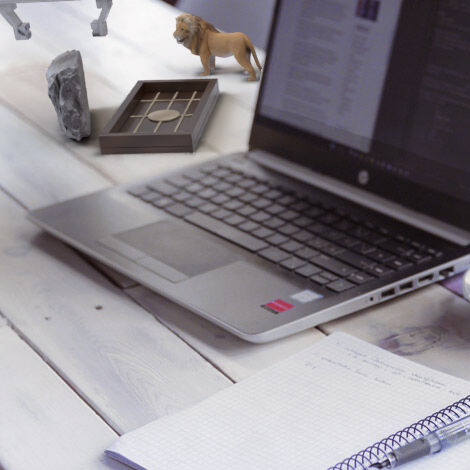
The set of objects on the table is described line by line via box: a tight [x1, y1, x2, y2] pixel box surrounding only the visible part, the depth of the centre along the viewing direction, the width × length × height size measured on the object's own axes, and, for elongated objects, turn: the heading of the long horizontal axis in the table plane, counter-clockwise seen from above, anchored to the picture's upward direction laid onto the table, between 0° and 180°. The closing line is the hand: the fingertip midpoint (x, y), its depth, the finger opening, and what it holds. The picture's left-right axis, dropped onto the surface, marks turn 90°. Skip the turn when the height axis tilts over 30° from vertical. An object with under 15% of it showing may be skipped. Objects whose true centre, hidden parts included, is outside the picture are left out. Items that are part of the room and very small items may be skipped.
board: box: [97, 77, 221, 156], centre depth 121 cm, size 11×21×3 cm, turn 179°
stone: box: [45, 49, 92, 142], centre depth 118 cm, size 15×5×10 cm, turn 10°
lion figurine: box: [172, 13, 263, 82], centre depth 137 cm, size 15×5×9 cm, turn 72°
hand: (62, 37), depth 115 cm, fingers open, 8 cm apart
